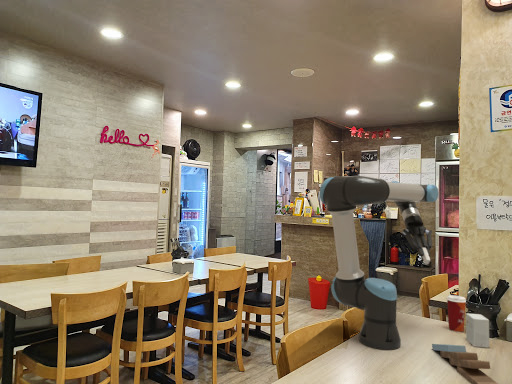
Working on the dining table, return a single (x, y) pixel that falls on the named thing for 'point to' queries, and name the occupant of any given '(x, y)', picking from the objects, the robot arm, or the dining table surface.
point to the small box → (477, 330)
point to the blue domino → (449, 348)
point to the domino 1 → (459, 355)
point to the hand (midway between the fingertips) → (427, 262)
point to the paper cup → (456, 312)
